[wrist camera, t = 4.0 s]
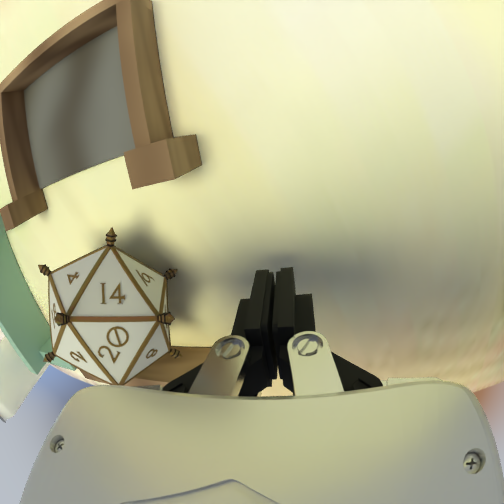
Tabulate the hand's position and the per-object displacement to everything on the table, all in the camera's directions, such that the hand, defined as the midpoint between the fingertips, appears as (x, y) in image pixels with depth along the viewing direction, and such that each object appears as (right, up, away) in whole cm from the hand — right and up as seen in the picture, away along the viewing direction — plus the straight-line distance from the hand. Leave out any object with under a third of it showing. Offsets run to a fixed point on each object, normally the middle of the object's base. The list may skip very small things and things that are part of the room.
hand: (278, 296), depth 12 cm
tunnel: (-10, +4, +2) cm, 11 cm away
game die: (-9, 0, +4) cm, 10 cm away
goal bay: (-21, -1, +6) cm, 22 cm away
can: (-28, -9, +12) cm, 31 cm away
